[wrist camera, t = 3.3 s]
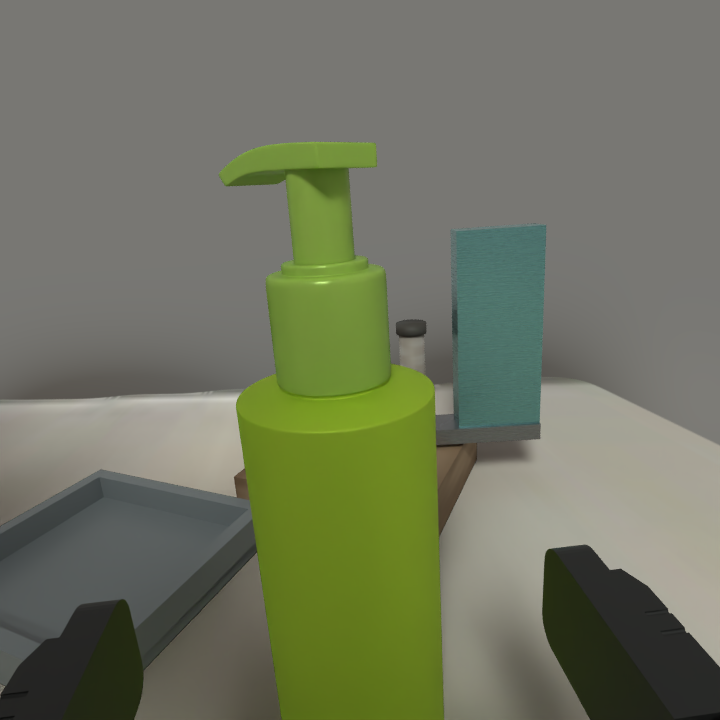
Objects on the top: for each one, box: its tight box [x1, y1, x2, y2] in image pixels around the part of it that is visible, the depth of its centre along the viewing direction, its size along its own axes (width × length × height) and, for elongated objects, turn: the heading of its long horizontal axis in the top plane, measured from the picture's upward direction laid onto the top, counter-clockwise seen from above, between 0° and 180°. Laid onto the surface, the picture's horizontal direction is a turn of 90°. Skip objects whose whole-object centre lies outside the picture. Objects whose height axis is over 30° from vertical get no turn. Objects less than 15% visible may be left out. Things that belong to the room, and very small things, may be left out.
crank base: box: [234, 320, 477, 536], centre depth 37 cm, size 12×18×9 cm
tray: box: [0, 470, 257, 686], centre depth 28 cm, size 14×13×2 cm
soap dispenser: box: [219, 142, 444, 720], centre depth 17 cm, size 6×7×20 cm
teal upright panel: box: [435, 223, 546, 445], centre depth 32 cm, size 13×4×13 cm, turn 90°
